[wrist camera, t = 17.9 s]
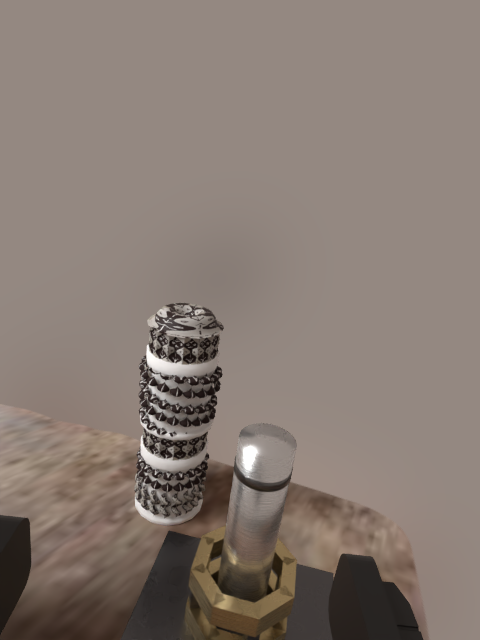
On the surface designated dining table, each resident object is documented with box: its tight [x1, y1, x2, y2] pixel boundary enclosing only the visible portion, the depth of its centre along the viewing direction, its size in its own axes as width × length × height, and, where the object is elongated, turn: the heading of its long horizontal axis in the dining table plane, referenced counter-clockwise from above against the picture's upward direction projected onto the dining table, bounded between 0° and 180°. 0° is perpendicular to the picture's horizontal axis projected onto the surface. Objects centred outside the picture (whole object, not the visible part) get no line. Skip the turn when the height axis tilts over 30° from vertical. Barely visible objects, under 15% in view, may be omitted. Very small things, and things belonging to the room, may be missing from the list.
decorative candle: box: [135, 303, 224, 526], centre depth 49 cm, size 9×9×25 cm
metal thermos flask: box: [217, 423, 297, 636], centre depth 35 cm, size 4×4×19 cm
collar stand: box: [121, 526, 333, 640], centre depth 38 cm, size 18×14×8 cm
